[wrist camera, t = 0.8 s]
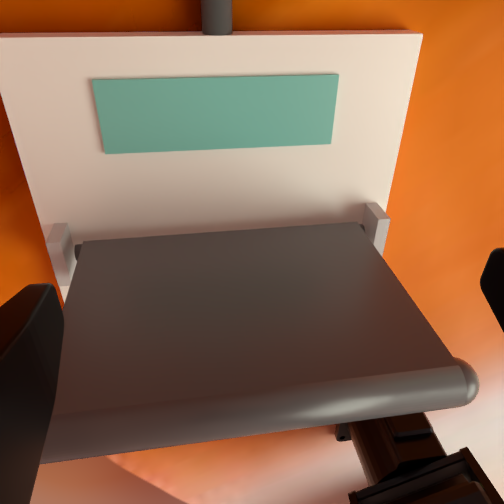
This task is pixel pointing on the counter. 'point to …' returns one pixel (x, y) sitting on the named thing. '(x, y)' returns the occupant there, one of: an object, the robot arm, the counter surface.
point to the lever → (240, 340)
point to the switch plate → (205, 129)
